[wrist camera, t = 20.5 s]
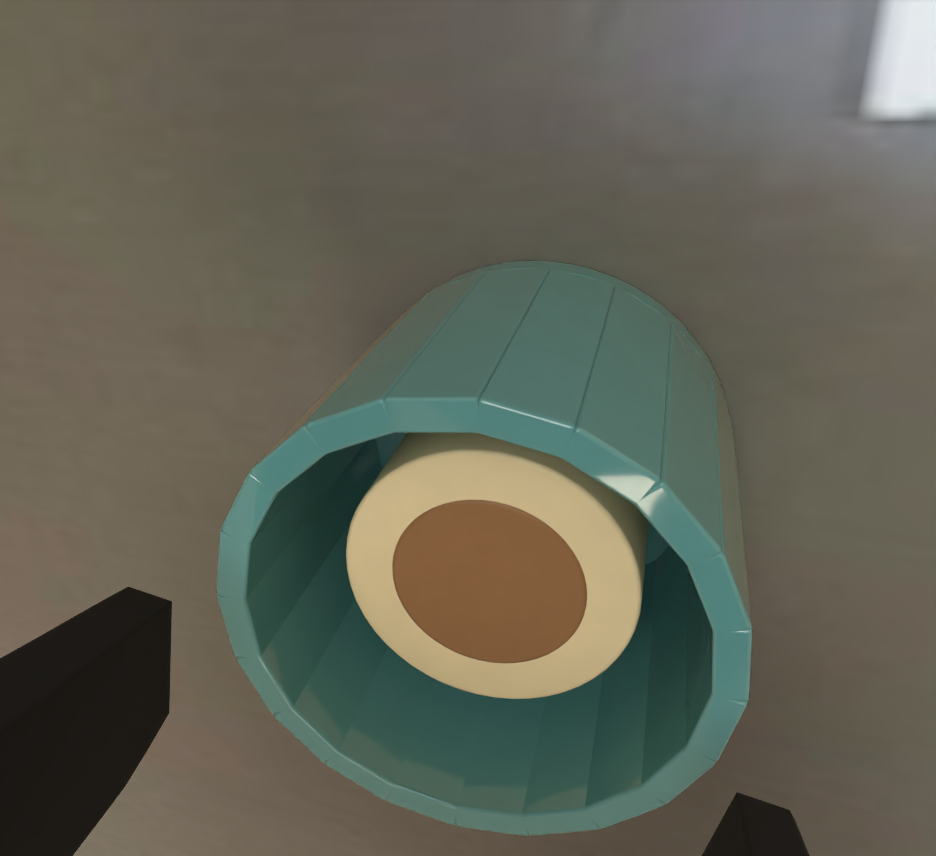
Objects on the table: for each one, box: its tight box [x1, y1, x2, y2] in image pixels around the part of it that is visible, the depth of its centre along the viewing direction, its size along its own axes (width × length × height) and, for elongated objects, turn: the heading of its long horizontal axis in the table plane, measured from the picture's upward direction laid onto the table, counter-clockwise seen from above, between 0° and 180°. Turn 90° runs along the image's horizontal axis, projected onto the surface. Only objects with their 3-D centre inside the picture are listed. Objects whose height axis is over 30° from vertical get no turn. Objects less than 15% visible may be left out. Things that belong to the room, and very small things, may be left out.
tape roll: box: [346, 433, 649, 699], centre depth 15 cm, size 5×5×4 cm
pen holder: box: [216, 261, 753, 836], centre depth 15 cm, size 8×8×6 cm
